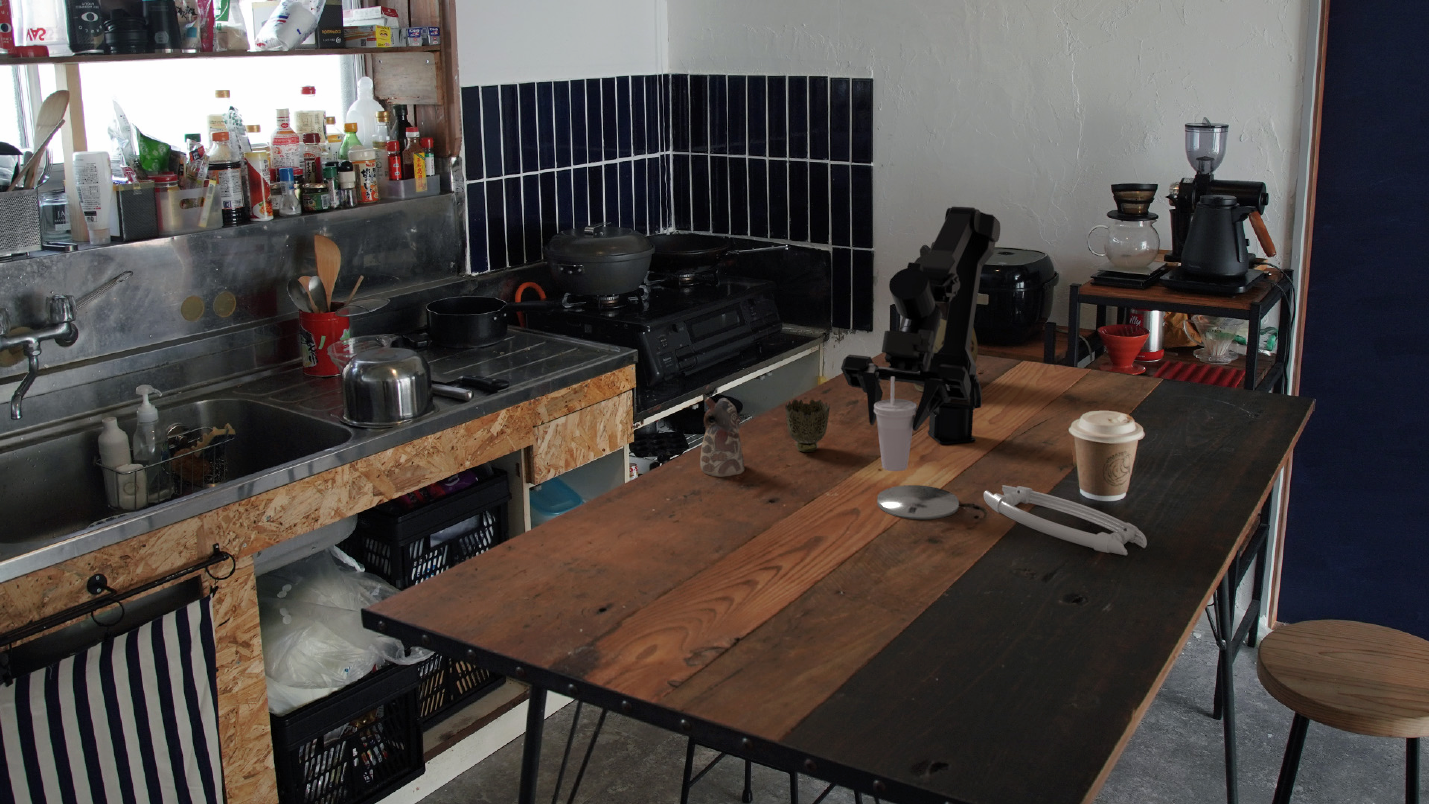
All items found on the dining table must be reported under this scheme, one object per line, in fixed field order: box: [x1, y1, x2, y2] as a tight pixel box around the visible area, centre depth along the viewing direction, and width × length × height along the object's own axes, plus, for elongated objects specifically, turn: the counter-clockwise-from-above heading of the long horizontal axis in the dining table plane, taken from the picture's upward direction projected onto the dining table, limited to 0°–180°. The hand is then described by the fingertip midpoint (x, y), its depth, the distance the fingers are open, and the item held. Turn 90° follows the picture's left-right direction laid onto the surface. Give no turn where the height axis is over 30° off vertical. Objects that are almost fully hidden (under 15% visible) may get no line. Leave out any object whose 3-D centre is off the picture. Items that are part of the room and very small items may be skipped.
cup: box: [784, 398, 831, 453], centre depth 208 cm, size 8×7×8 cm
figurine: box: [699, 397, 746, 478], centre depth 199 cm, size 7×7×12 cm
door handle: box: [983, 484, 1148, 556], centre depth 177 cm, size 3×10×25 cm
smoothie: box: [874, 376, 918, 472], centre depth 182 cm, size 6×6×14 cm
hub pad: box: [876, 484, 960, 521], centre depth 185 cm, size 12×12×1 cm
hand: (892, 426), depth 181 cm, fingers closed on smoothie, 6 cm apart
